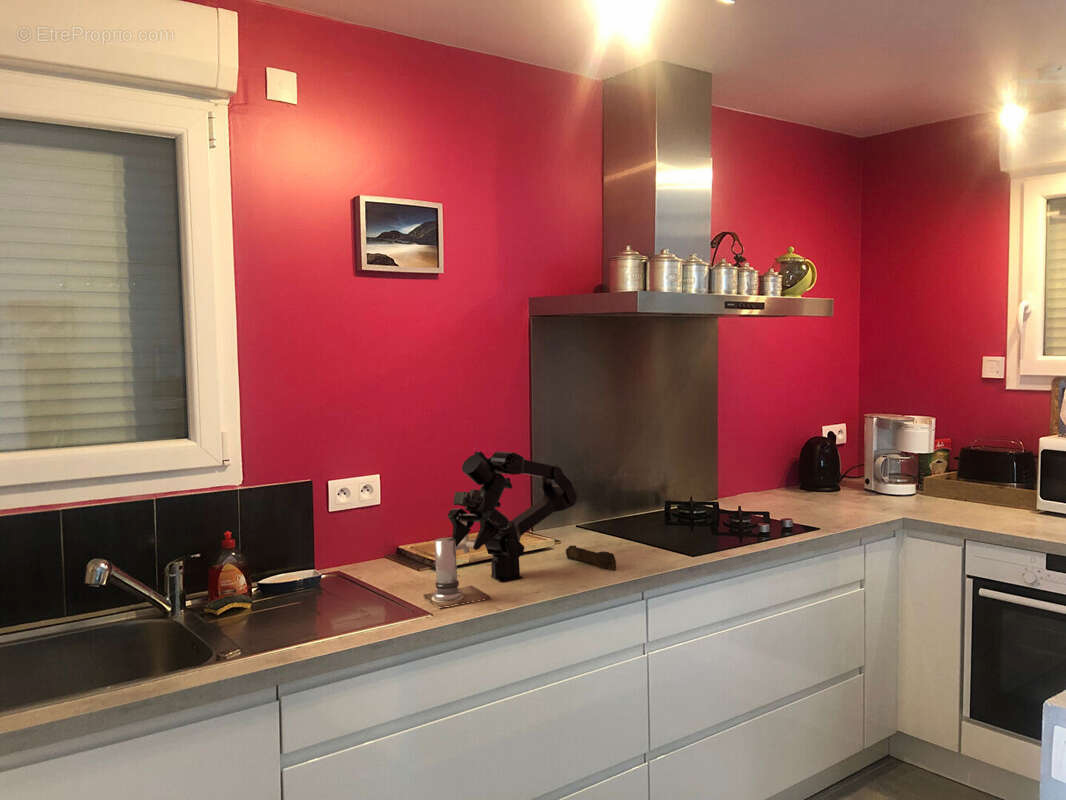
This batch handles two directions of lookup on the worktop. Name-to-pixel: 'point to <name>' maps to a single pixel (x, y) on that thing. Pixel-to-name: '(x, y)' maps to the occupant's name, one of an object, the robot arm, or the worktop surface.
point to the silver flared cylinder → (446, 570)
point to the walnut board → (467, 596)
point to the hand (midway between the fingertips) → (463, 548)
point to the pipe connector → (466, 544)
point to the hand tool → (592, 557)
